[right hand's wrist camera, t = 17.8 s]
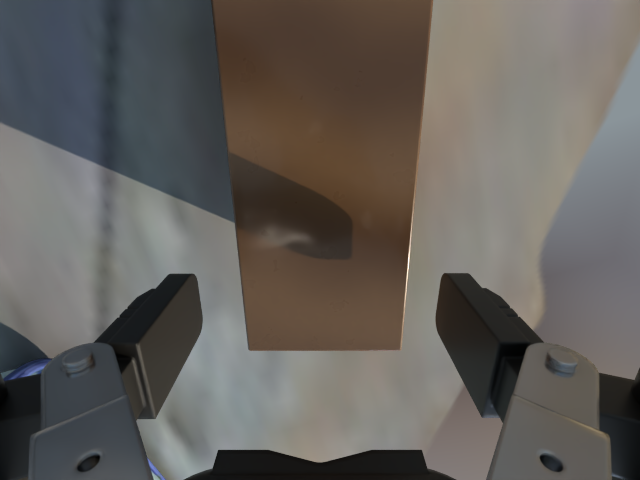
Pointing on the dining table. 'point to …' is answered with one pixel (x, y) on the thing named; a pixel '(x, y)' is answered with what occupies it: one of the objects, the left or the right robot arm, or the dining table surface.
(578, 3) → the dining table surface
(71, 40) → the dining table surface
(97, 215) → the dining table surface
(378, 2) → the box
